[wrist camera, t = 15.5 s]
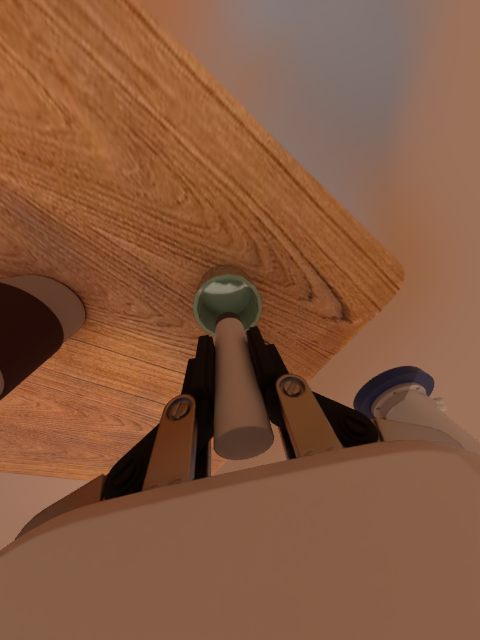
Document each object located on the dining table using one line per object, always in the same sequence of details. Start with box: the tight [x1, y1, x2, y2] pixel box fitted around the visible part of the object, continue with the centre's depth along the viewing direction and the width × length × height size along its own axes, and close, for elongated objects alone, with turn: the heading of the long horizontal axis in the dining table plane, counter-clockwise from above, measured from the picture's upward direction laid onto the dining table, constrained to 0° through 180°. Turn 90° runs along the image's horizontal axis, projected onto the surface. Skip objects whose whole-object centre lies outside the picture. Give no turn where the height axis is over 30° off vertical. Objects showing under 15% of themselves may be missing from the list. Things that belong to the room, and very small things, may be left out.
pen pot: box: [193, 265, 262, 336], centre depth 19 cm, size 7×7×5 cm
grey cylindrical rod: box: [214, 312, 274, 460], centre depth 10 cm, size 2×2×9 cm
